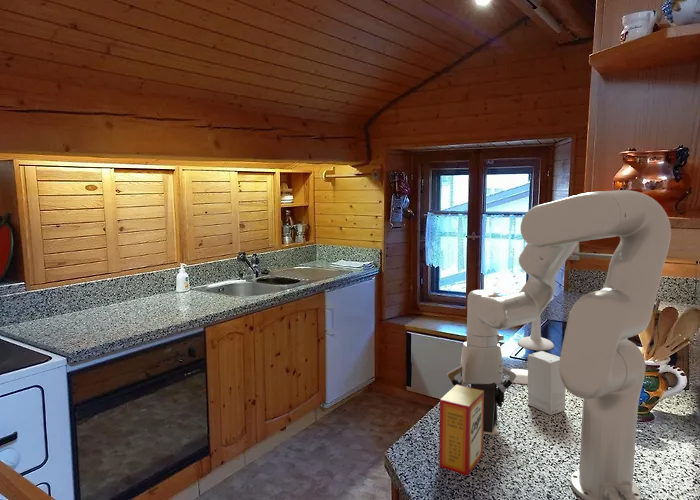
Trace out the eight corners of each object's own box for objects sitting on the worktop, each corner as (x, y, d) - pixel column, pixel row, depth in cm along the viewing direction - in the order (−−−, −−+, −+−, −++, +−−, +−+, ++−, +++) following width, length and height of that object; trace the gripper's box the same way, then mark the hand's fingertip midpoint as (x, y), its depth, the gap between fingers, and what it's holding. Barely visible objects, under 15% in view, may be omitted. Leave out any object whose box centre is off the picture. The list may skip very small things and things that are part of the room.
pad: (498, 434, 122) (498, 432, 122) (469, 433, 123) (469, 432, 123) (489, 415, 132) (489, 413, 132) (463, 414, 133) (463, 413, 133)
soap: (537, 378, 157) (538, 369, 157) (538, 386, 151) (539, 377, 150) (508, 374, 160) (508, 366, 160) (507, 383, 154) (508, 374, 153)
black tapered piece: (474, 413, 132) (475, 370, 131) (497, 417, 130) (498, 374, 128) (467, 428, 124) (468, 383, 123) (491, 433, 122) (493, 387, 120)
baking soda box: (455, 447, 117) (456, 382, 114) (482, 455, 113) (484, 389, 111) (439, 466, 109) (439, 397, 107) (467, 476, 105) (469, 405, 103)
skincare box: (565, 411, 134) (567, 358, 132) (549, 416, 131) (551, 362, 129) (541, 399, 141) (543, 349, 139) (525, 404, 138) (527, 353, 136)
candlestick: (542, 353, 179) (545, 271, 175) (511, 344, 188) (513, 267, 184) (560, 345, 187) (563, 267, 183) (529, 337, 197) (531, 263, 192)
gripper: (513, 334, 127) (511, 398, 130) (445, 334, 129) (444, 397, 131) (521, 344, 120) (519, 411, 122) (449, 343, 121) (448, 410, 124)
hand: (480, 404), depth 127 cm, fingers open, 8 cm apart
